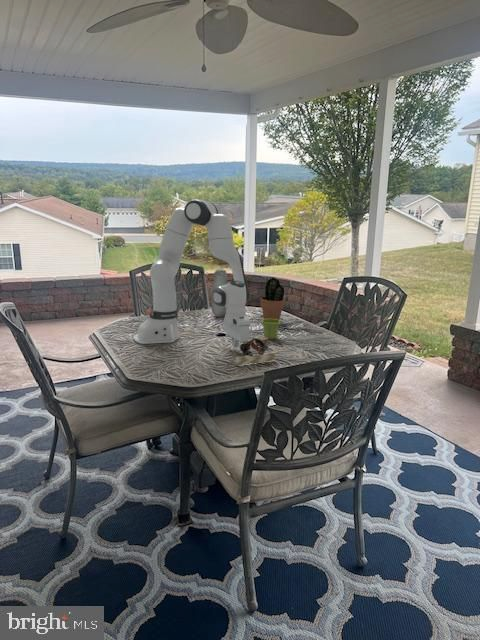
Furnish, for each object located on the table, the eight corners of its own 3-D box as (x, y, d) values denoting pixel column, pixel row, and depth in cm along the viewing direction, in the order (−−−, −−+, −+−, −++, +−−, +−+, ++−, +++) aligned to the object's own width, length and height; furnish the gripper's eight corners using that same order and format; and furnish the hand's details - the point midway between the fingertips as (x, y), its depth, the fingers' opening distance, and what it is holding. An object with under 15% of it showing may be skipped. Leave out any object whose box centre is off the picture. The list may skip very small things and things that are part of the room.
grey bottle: (219, 313, 274) (219, 267, 267) (232, 316, 268) (233, 269, 261) (208, 316, 267) (208, 269, 260) (220, 319, 261) (221, 271, 253)
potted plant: (257, 322, 257) (258, 278, 251) (262, 316, 270) (264, 275, 263) (280, 324, 253) (283, 280, 247) (285, 319, 266) (287, 276, 259)
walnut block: (262, 348, 213) (262, 340, 212) (255, 346, 216) (256, 338, 215) (267, 346, 216) (268, 338, 215) (261, 344, 218) (261, 336, 217)
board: (237, 367, 188) (238, 356, 186) (235, 365, 189) (236, 355, 188) (275, 361, 195) (275, 351, 194) (273, 360, 197) (273, 350, 196)
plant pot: (257, 338, 228) (258, 321, 226) (265, 333, 236) (266, 317, 234) (275, 341, 224) (275, 324, 222) (282, 336, 232) (283, 320, 230)
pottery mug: (251, 350, 211) (260, 337, 208) (261, 364, 205) (271, 351, 202) (232, 348, 203) (241, 334, 200) (241, 363, 197) (251, 349, 194)
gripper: (220, 312, 213) (219, 340, 216) (239, 323, 195) (238, 353, 199) (232, 311, 215) (231, 339, 219) (252, 322, 198) (250, 352, 201)
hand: (234, 346), depth 209 cm, fingers closed
